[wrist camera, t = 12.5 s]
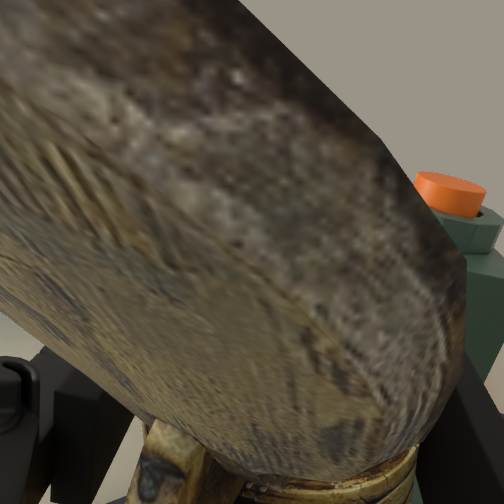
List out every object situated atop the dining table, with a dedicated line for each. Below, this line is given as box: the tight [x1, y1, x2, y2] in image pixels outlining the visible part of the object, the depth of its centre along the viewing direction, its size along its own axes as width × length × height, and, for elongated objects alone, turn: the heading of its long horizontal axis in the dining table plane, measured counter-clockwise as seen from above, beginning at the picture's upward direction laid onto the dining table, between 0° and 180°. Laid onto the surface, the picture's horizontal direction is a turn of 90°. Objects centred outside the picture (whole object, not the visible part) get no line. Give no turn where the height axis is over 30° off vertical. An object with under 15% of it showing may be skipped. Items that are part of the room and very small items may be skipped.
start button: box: [414, 172, 486, 217], centre depth 28 cm, size 4×4×2 cm
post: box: [410, 206, 504, 504], centre depth 32 cm, size 12×7×18 cm, turn 174°
